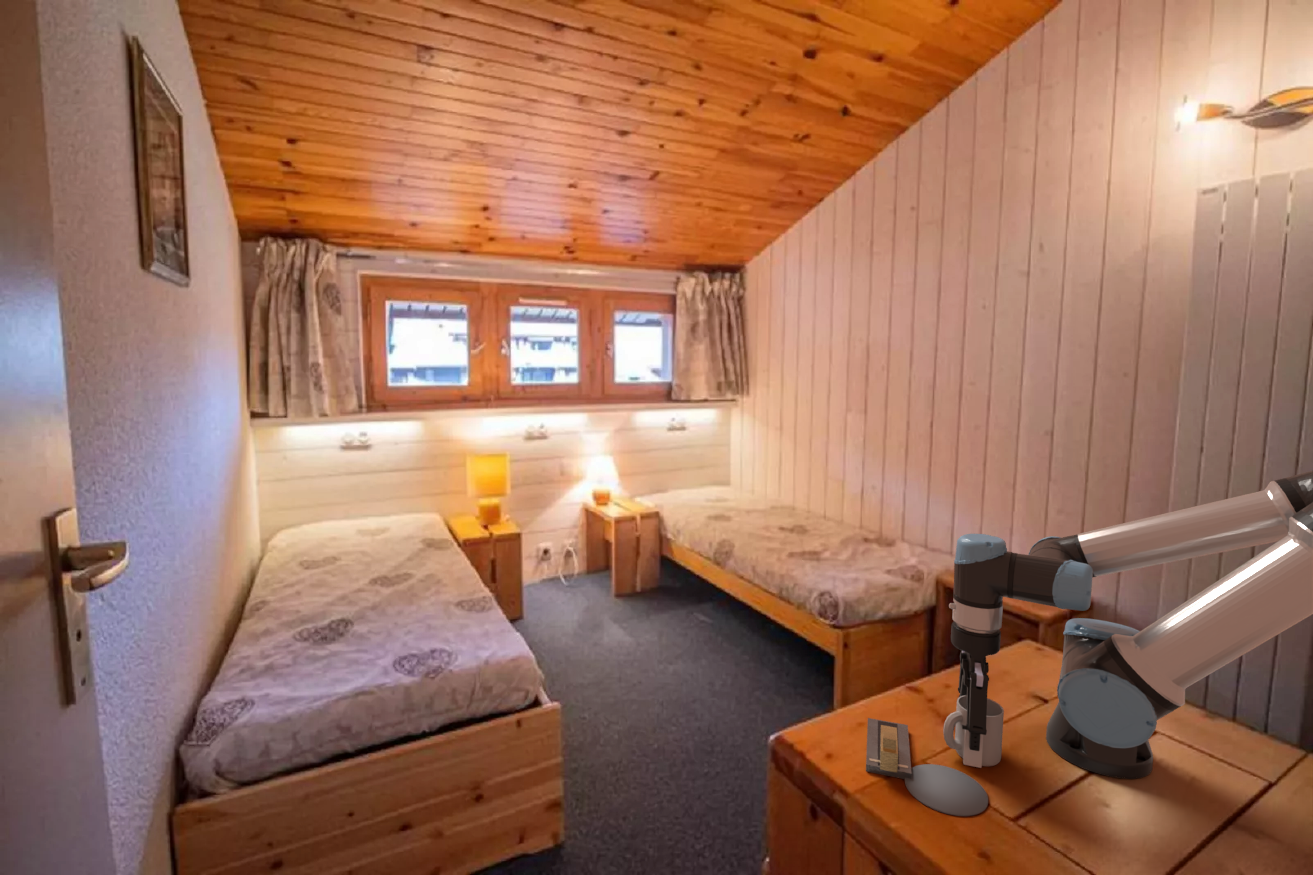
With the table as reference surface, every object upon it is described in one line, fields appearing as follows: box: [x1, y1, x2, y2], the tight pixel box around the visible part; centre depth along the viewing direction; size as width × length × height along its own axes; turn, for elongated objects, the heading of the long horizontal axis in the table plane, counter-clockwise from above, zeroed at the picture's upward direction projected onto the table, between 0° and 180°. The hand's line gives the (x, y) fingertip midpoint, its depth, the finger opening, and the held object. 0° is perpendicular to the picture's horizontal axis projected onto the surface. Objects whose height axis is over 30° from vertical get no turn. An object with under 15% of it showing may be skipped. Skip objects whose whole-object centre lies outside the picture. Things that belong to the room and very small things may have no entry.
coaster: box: [904, 763, 989, 817], centre depth 98 cm, size 12×12×1 cm
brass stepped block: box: [880, 725, 898, 773], centre depth 103 cm, size 3×8×5 cm, turn 160°
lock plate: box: [865, 717, 912, 780], centre depth 108 cm, size 7×15×1 cm, turn 160°
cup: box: [942, 695, 1005, 767], centre depth 106 cm, size 7×10×9 cm
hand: (968, 751), depth 107 cm, fingers closed on cup, 7 cm apart
